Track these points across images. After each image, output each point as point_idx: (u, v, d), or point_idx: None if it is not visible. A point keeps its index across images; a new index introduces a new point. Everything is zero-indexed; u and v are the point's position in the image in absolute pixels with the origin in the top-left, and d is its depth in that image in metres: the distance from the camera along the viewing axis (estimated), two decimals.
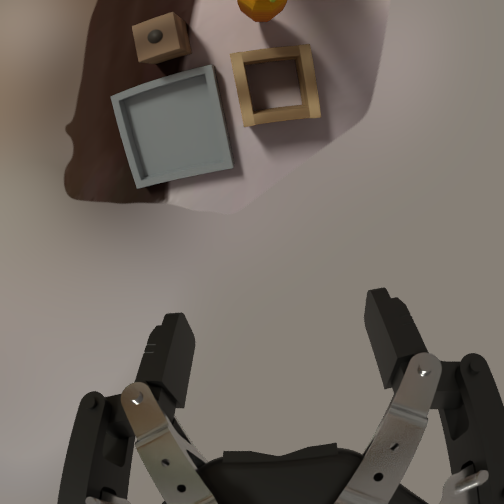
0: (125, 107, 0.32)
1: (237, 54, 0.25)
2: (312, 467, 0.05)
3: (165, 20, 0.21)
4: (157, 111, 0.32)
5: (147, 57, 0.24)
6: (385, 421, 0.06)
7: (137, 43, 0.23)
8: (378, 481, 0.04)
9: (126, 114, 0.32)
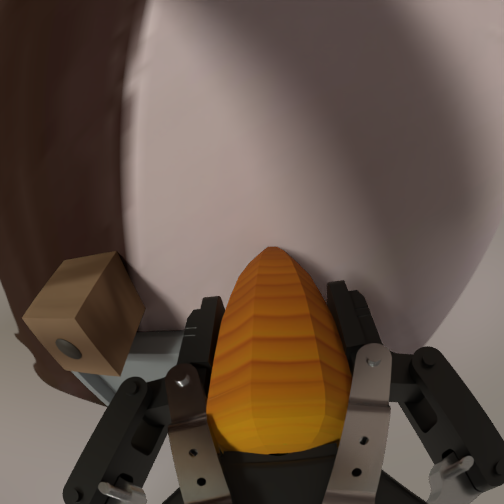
0: None
1: None
2: (312, 467, 0.05)
3: (70, 330, 0.12)
4: None
5: (74, 370, 0.14)
6: (346, 418, 0.06)
7: (47, 347, 0.13)
8: (358, 476, 0.05)
9: None
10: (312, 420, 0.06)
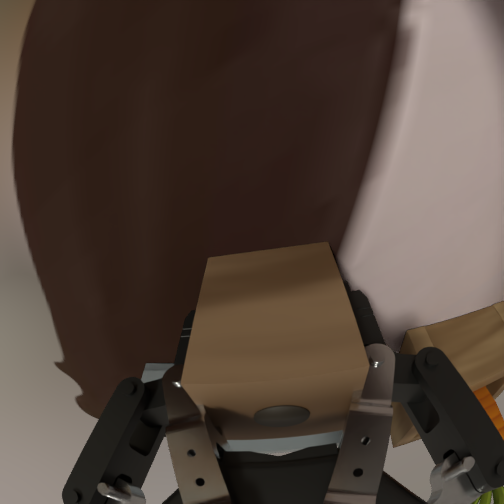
0: None
1: None
2: (312, 467, 0.05)
3: (331, 388, 0.07)
4: None
5: (252, 438, 0.09)
6: (349, 418, 0.06)
7: (216, 419, 0.08)
8: (359, 476, 0.05)
9: None
10: None
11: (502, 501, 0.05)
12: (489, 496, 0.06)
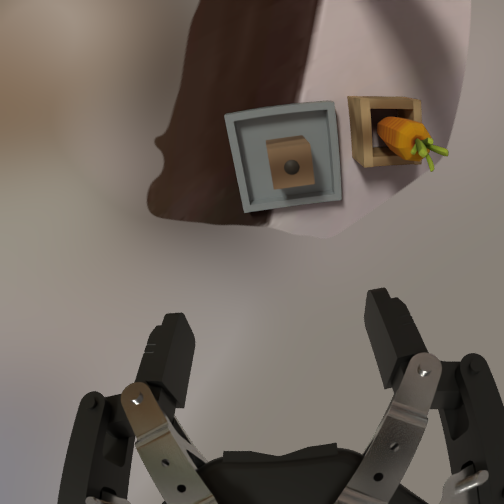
0: (236, 128, 0.35)
1: (366, 100, 0.28)
2: (312, 467, 0.05)
3: (302, 152, 0.30)
4: (271, 137, 0.35)
5: (282, 187, 0.33)
6: (385, 421, 0.06)
7: (273, 170, 0.32)
8: (378, 481, 0.04)
9: (237, 136, 0.35)
10: (422, 125, 0.24)
11: None
12: (420, 140, 0.23)
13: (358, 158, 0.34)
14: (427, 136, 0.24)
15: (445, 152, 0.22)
